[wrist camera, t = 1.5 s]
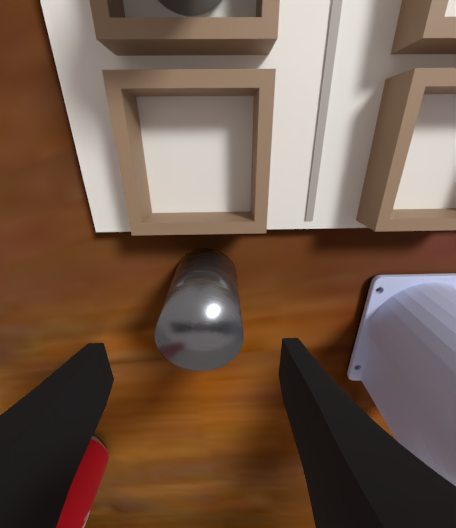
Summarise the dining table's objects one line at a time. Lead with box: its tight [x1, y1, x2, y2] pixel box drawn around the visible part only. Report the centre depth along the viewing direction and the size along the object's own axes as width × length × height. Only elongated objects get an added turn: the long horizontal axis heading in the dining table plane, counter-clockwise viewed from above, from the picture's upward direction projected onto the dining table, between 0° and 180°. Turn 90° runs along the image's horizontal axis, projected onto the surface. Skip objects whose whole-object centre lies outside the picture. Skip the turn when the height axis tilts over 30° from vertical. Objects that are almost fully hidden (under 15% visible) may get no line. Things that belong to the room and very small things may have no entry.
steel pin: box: [155, 248, 243, 371], centre depth 14 cm, size 4×4×6 cm
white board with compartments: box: [40, 0, 456, 236], centre depth 9 cm, size 15×24×7 cm, turn 91°
